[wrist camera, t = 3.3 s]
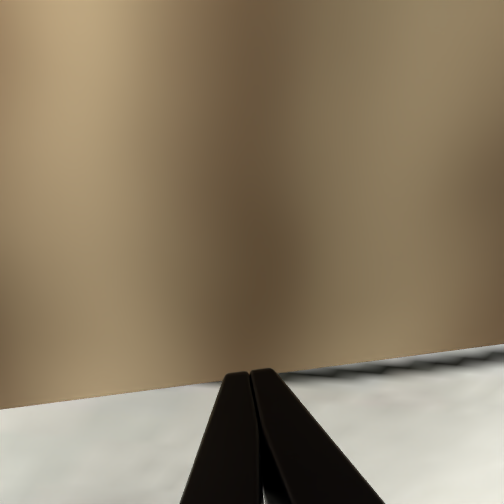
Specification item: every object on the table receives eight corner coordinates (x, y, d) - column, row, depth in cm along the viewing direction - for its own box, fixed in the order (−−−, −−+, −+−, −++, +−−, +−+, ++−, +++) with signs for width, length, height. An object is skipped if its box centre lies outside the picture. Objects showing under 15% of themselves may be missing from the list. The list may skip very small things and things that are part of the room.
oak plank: (-187, 399, 12) (-265, 443, 10) (-299, -20, 10) (-420, -68, 8) (598, 302, 14) (664, 322, 12) (613, -61, 12) (692, -108, 10)
